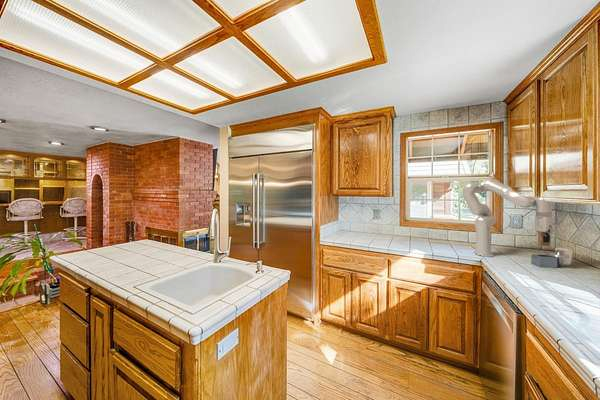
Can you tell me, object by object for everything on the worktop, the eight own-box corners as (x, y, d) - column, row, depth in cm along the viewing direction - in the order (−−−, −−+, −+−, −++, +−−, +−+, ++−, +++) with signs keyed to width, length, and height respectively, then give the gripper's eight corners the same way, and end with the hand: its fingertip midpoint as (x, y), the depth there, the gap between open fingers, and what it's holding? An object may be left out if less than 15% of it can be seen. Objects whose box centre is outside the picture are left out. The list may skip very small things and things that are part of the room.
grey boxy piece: (530, 263, 158) (530, 248, 158) (561, 264, 154) (561, 248, 154) (540, 267, 150) (540, 251, 149) (574, 269, 145) (574, 252, 145)
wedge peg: (537, 244, 154) (537, 230, 154) (546, 244, 153) (546, 230, 153) (541, 245, 152) (541, 231, 151) (550, 245, 150) (550, 231, 150)
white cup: (561, 264, 154) (561, 250, 153) (551, 261, 161) (551, 247, 161) (576, 265, 152) (576, 250, 152) (565, 261, 160) (565, 248, 159)
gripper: (528, 213, 161) (528, 239, 161) (547, 216, 145) (547, 244, 145) (540, 213, 159) (541, 239, 159) (561, 216, 143) (561, 244, 143)
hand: (544, 241), depth 152 cm, fingers closed on wedge peg, 3 cm apart
